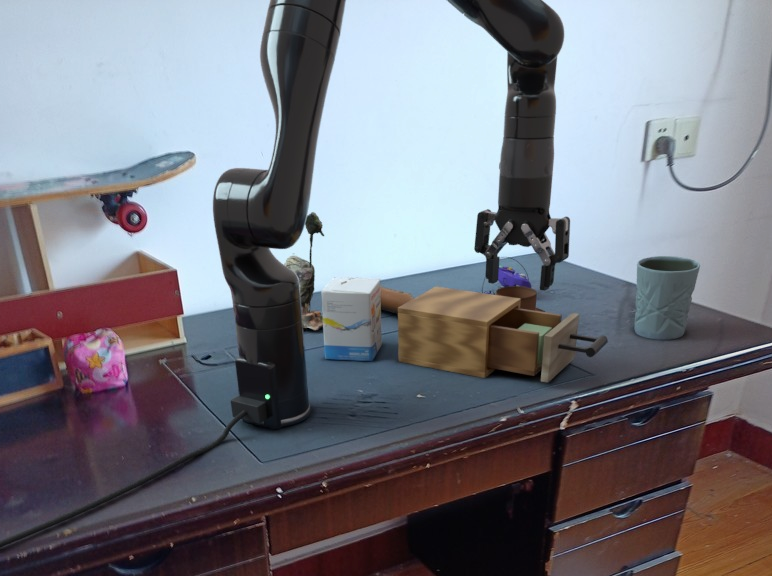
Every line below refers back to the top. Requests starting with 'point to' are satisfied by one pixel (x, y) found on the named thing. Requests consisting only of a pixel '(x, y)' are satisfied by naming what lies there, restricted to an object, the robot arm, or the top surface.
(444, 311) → the cabinet
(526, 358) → the drawer
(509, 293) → the cup and saucer
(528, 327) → the block
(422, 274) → the top surface
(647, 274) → the drinking glass
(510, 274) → the game controller
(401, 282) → the top surface
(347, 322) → the ink box
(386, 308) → the sunglasses case
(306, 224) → the plant with pod
